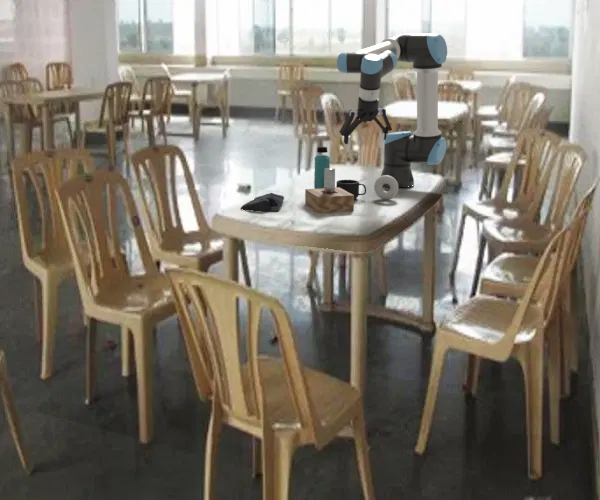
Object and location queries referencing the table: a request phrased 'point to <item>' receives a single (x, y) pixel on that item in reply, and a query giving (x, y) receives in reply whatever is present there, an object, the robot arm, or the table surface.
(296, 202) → the table surface
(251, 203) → the dark slate chunk
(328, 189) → the pin
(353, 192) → the mug
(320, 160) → the beverage bottle
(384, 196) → the donut
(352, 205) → the block
